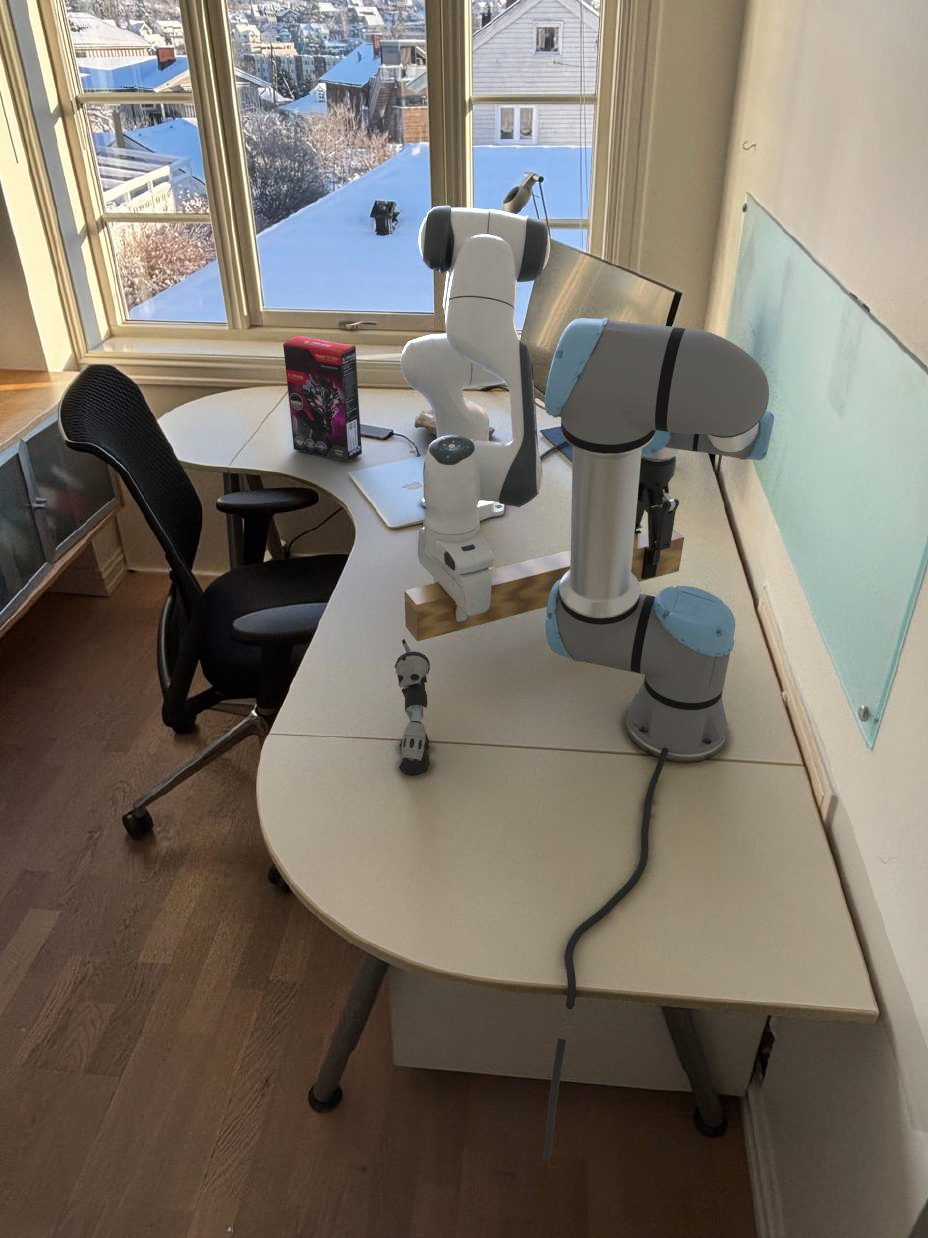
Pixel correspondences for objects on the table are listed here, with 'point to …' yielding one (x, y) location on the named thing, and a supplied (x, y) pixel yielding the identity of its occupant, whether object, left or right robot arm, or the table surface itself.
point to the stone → (433, 422)
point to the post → (516, 589)
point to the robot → (413, 710)
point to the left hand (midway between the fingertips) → (451, 609)
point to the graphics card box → (323, 397)
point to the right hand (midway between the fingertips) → (639, 569)
